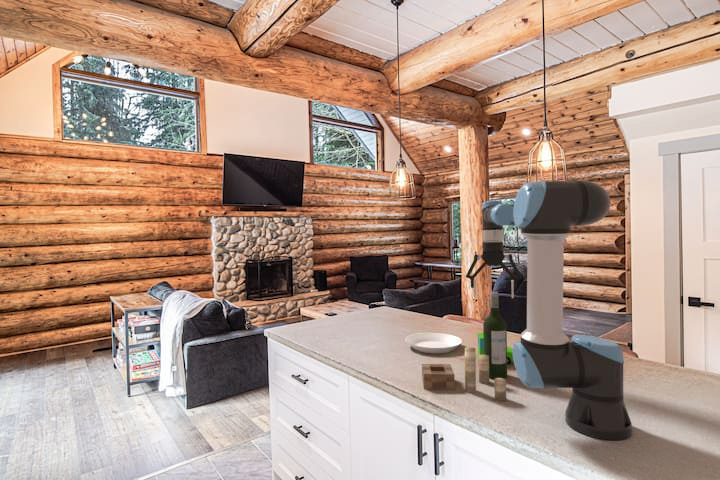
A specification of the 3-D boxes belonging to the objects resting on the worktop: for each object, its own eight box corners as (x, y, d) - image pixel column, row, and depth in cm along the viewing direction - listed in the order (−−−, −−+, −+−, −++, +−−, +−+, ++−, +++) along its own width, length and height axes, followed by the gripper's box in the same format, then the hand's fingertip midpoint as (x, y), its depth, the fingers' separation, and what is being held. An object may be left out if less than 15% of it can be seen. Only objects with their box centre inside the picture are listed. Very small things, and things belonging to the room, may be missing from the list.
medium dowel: (490, 383, 136) (489, 357, 136) (480, 383, 136) (479, 357, 136) (488, 380, 139) (487, 354, 139) (478, 380, 140) (477, 354, 139)
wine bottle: (496, 370, 149) (495, 290, 148) (512, 377, 141) (511, 293, 141) (479, 373, 146) (478, 291, 145) (493, 381, 138) (492, 294, 138)
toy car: (516, 366, 153) (516, 340, 153) (480, 364, 156) (480, 339, 156) (511, 357, 163) (511, 333, 163) (478, 356, 166) (477, 332, 166)
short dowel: (507, 401, 122) (507, 382, 122) (496, 401, 122) (495, 381, 122) (504, 396, 125) (504, 377, 125) (493, 396, 126) (493, 377, 125)
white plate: (402, 354, 171) (401, 346, 171) (409, 339, 195) (408, 331, 195) (462, 357, 165) (462, 349, 165) (461, 341, 189) (461, 333, 189)
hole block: (454, 389, 132) (454, 374, 132) (424, 388, 133) (423, 373, 133) (450, 378, 142) (450, 364, 142) (422, 377, 143) (421, 363, 143)
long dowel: (476, 393, 129) (476, 349, 128) (466, 392, 129) (465, 349, 129) (474, 388, 132) (474, 346, 132) (464, 388, 132) (463, 346, 132)
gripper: (527, 240, 151) (528, 296, 152) (460, 241, 160) (461, 294, 161) (528, 241, 144) (529, 299, 145) (458, 242, 153) (459, 297, 153)
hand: (493, 297), depth 153 cm, fingers open, 13 cm apart
